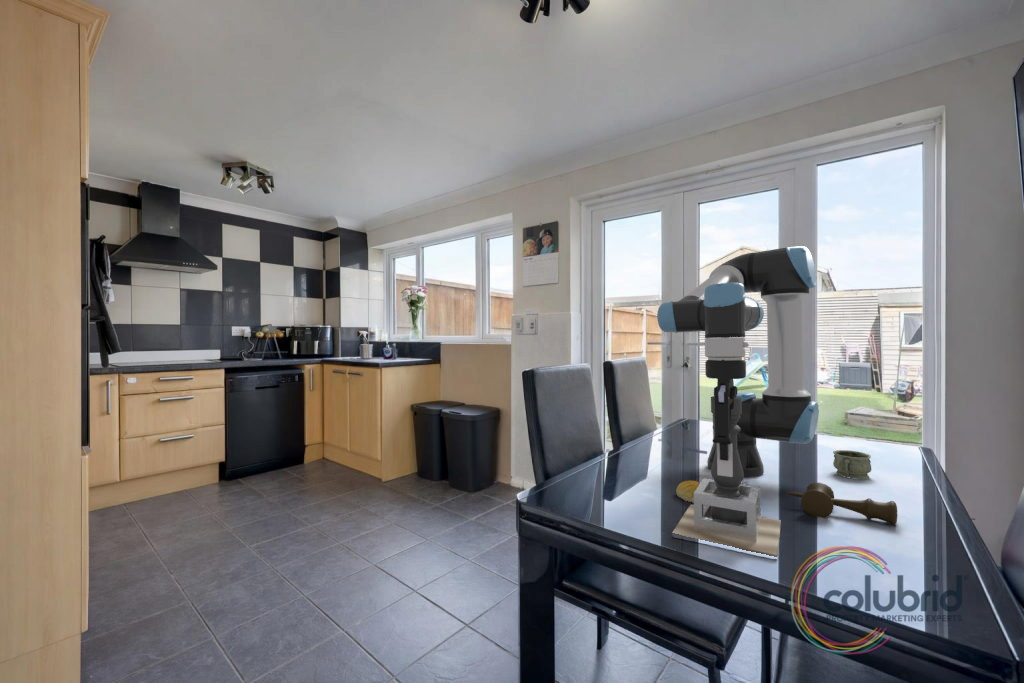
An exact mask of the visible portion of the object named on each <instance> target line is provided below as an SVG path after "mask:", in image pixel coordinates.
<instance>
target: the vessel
mask: <svg viewBox="0 0 1024 683" xmlns="http://www.w3.org/2000/svg"><path fill="white" fill-rule="evenodd" d="M832 453H833V458H834V459H833V462H832V463H833V467H834V468H835V469H836V472H835V474H836V473H837V474H839V475H838V476H840V475H842V476H845V477H844V478H846V477H850V478H849V479H852V478H858V479H857V480H867V479H866V478H868V479H870V476H869V473H871V472H872V465H871V464H872V463H871V462H872V461H871V454H869V453H865V452H862V451H857V450H848V449H847V450H846V449H836V450H833V451H832ZM837 474H836V475H837ZM842 476H841V477H842Z"/></svg>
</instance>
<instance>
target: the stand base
mask: <svg viewBox="0 0 1024 683" xmlns="http://www.w3.org/2000/svg"><path fill="white" fill-rule="evenodd" d="M709 518H712V517H711V516H710V517H709ZM744 524H745V525H747V523H746V522H745V523H744ZM781 526H782V520H781V519H776V518H771V517H770V518H769V517H767V516H766V517H764V516H761V523H760V528H759V533H758V538H757V542H756V543H755V542H750V541H745V540H740V539H735V538H730V537H725V536H720V535H716V534H711V533H706V532H701V531H696V530H694V504H690V505H689V506H688V508H687V509H686V511H685V512H684V514H683V515H682V517H681V519H680V520H679V522H678V523H677V524H676V526H675V528H674V529H673V531H672V533H675V534H679V535H682V536H686V537H691V538H695V539H700V540H705V541H709V542H713V543H718V544H723V545H727V546H732V547H735V548H739V549H742V550H746V551H751V552H756V553H761V554H766V555H769V556H774V557H777V556H778V557H779V549H778V547H780V539H779V538H780V537H781ZM672 533H671V534H672Z"/></svg>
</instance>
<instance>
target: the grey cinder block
mask: <svg viewBox="0 0 1024 683" xmlns="http://www.w3.org/2000/svg"><path fill="white" fill-rule="evenodd" d="M715 484H716V482H715V481H714V479H709V478H703V479H702V480H701V481H700V484H699V486H698V487H697V489H696V490H695V492H694V503H693V505H694V530H696V531H701V532H706V533H711V534H716V535H720V536H725V537H730V538H735V539H740V540H745V541H750V542H755V543H756V542H757V538H758V533H759V528H760V523H761V517H762V516H761V515H762V514H761V486H758V485H752V484H743V483H741V484H740V485H739V487H740V488H739V489H738V491H739V492H740V494H741V495H742V497H743V496H744V497H747V498H744V497H743V498H737V497H731V496H725V495H718V494H712V493H711V491H713V492H714V491H715V490H716V488H717V486H716V485H715ZM711 506H715V507H721V508H726V509H732V510H738V511H744V512H745V522H746V523H747V525H745V524H740V523H734V522H729V521H724V520H718V519H713V518H709V517H710V516H711Z"/></svg>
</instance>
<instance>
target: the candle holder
mask: <svg viewBox="0 0 1024 683" xmlns="http://www.w3.org/2000/svg"><path fill="white" fill-rule="evenodd" d="M732 401H733V399H729V405H730V404H731V403H732ZM710 412H711V414H712V418H713V417H714V419H715V398H714V395H713V396H710ZM740 414H742V401H741V398H740V397H735V398H734V408H733V409H732V410H731V443H732V460H733V477H728V476H721V475H717V443H716V451H715V455H714V459H713V464H712V468H711V470H710V475H711V478H712V480H714V481H715V482H716V484H715V485H716V486H717V488H716V490H715V491H713V494H718V495H725V496H731V497H737V498H744V497H743V496H742V495H741V494H740V492H739V491H738V489H739V488H740V487H739V485H740V484H743V483H742V482H743V481H744V479H745V477H744V472H743V469H742V465H741V461H740V457H739V454H738V450H737V434H738V432H740V430H741V428H740V427H739V426H738V425H737V422H738V420H739V419H740ZM713 430H714V431H715V425H713V424H712V431H713ZM720 436H722V435H720ZM711 517H712V518H713V519H718V520H724V521H729V522H734V523H740V524H744V523H745V512H744V511H738V510H732V509H726V508H721V507H715V506H711Z"/></svg>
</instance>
